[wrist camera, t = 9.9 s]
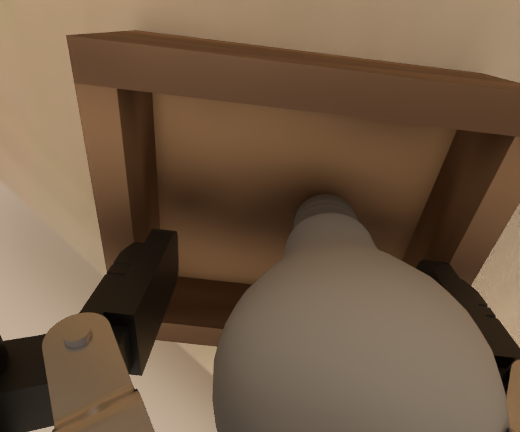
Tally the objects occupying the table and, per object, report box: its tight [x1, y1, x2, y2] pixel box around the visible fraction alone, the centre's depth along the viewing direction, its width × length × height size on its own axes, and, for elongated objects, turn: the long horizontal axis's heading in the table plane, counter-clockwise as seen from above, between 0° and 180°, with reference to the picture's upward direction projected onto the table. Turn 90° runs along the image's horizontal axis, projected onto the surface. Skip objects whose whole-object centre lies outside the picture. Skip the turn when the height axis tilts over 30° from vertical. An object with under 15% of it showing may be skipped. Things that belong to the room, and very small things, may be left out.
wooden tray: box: [66, 30, 520, 347], centre depth 14 cm, size 12×14×5 cm
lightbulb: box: [213, 194, 510, 432], centre depth 10 cm, size 6×6×11 cm
